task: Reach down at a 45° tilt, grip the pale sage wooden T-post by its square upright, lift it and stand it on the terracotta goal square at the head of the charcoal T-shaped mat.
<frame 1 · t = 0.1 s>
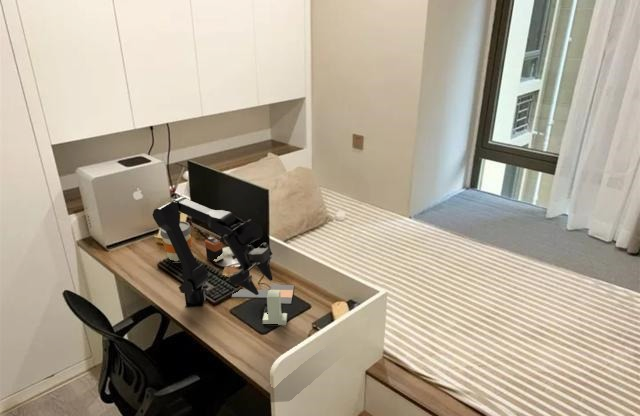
hand: (264, 287, 149), 15 cm above the table, tool tilted 35°, fingers open, 9 cm apart
reusable coffee cup: (179, 257, 198), on the table
shard: (228, 274, 186), on the table
t post: (275, 321, 156), on the table
battery: (215, 259, 197), on the table
t mat: (260, 294, 171), on the table
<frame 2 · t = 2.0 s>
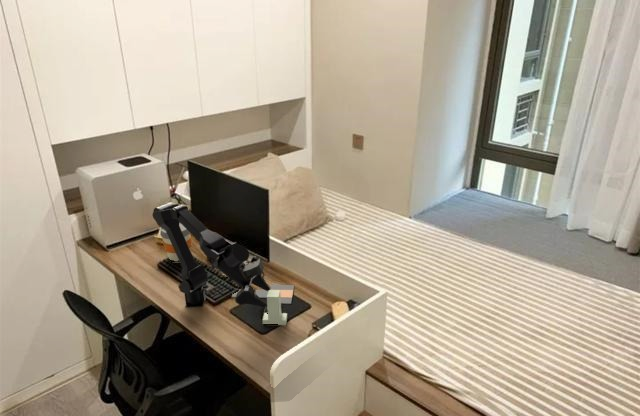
hand: (267, 298, 152), 10 cm above the table, tool tilted 45°, fingers open, 9 cm apart
nothing on the table moved.
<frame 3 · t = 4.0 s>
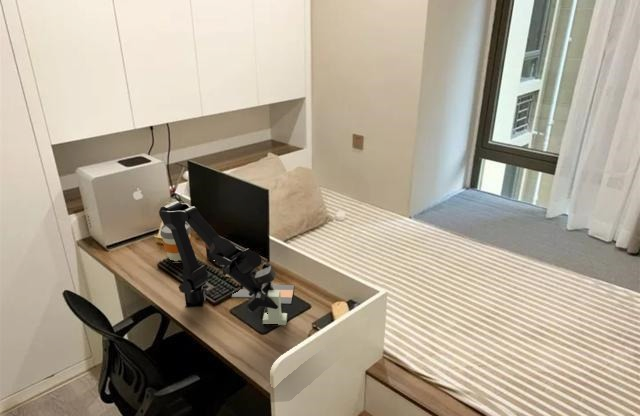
hand: (278, 304, 153), 7 cm above the table, tool tilted 45°, fingers closed on t post, 4 cm apart
t post: (275, 321, 156), on the table, touching gripper
everything else where it was.
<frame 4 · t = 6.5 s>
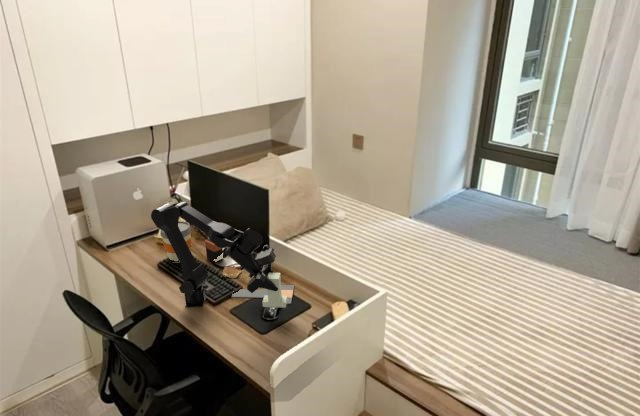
hand: (278, 286, 154), 12 cm above the table, tool tilted 45°, fingers closed on t post, 4 cm apart
t post: (275, 303, 157), point 5 cm above the table, touching gripper
everything else where it was.
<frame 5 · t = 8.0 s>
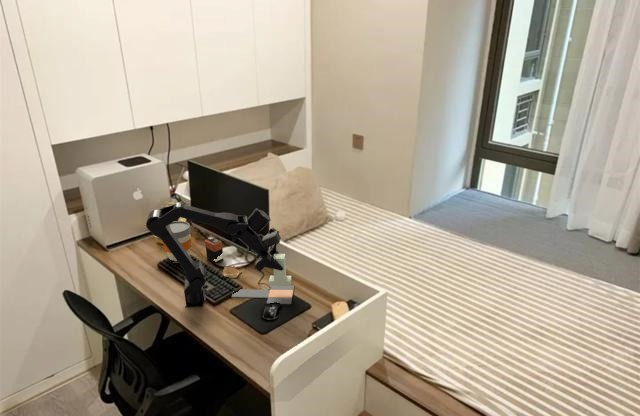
hand: (283, 266, 166), 12 cm above the table, tool tilted 45°, fingers closed on t post, 4 cm apart
t post: (280, 282, 169), point 5 cm above the table, touching gripper
everything else where it was.
when the fingers open (9 cm above the table, at t = 9.1 s): t post drops 1 cm, resting on t mat.
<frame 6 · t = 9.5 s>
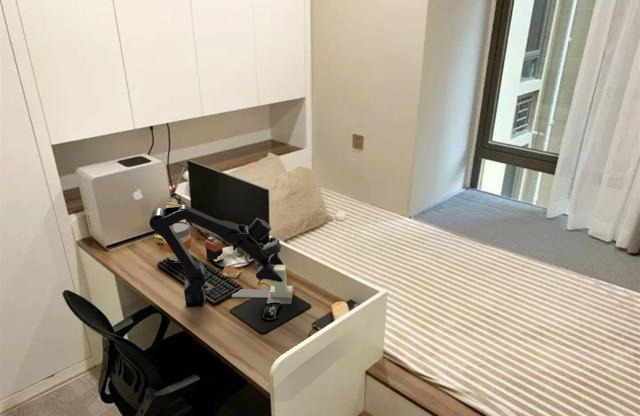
hand: (283, 275, 168), 9 cm above the table, tool tilted 45°, fingers open, 8 cm apart
t post: (281, 293, 171), resting on t mat
everything else where it was.
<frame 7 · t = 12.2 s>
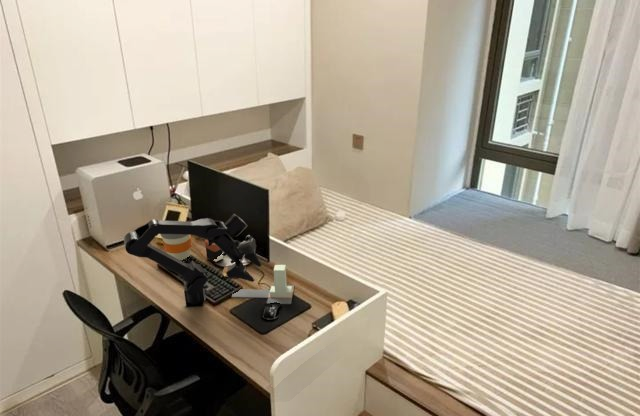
hand: (257, 273, 168), 9 cm above the table, tool tilted 40°, fingers open, 9 cm apart
nothing on the table moved.
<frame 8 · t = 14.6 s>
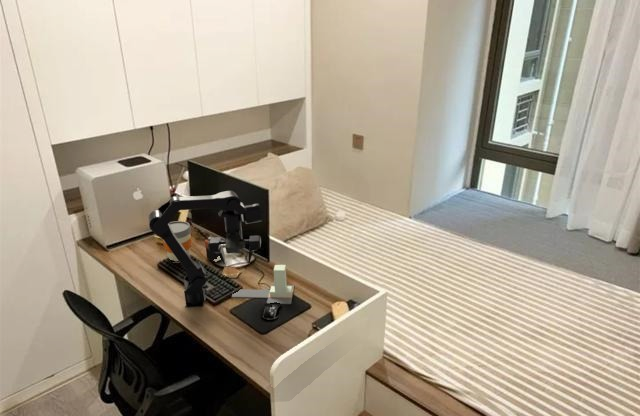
hand: (236, 263, 168), 13 cm above the table, tool pointing down, fingers open, 9 cm apart
nothing on the table moved.
at the end: t post 0.0 cm from the target spot, point 0.5 cm above the table; t post tilted 0°; the gripper is holding nothing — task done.
